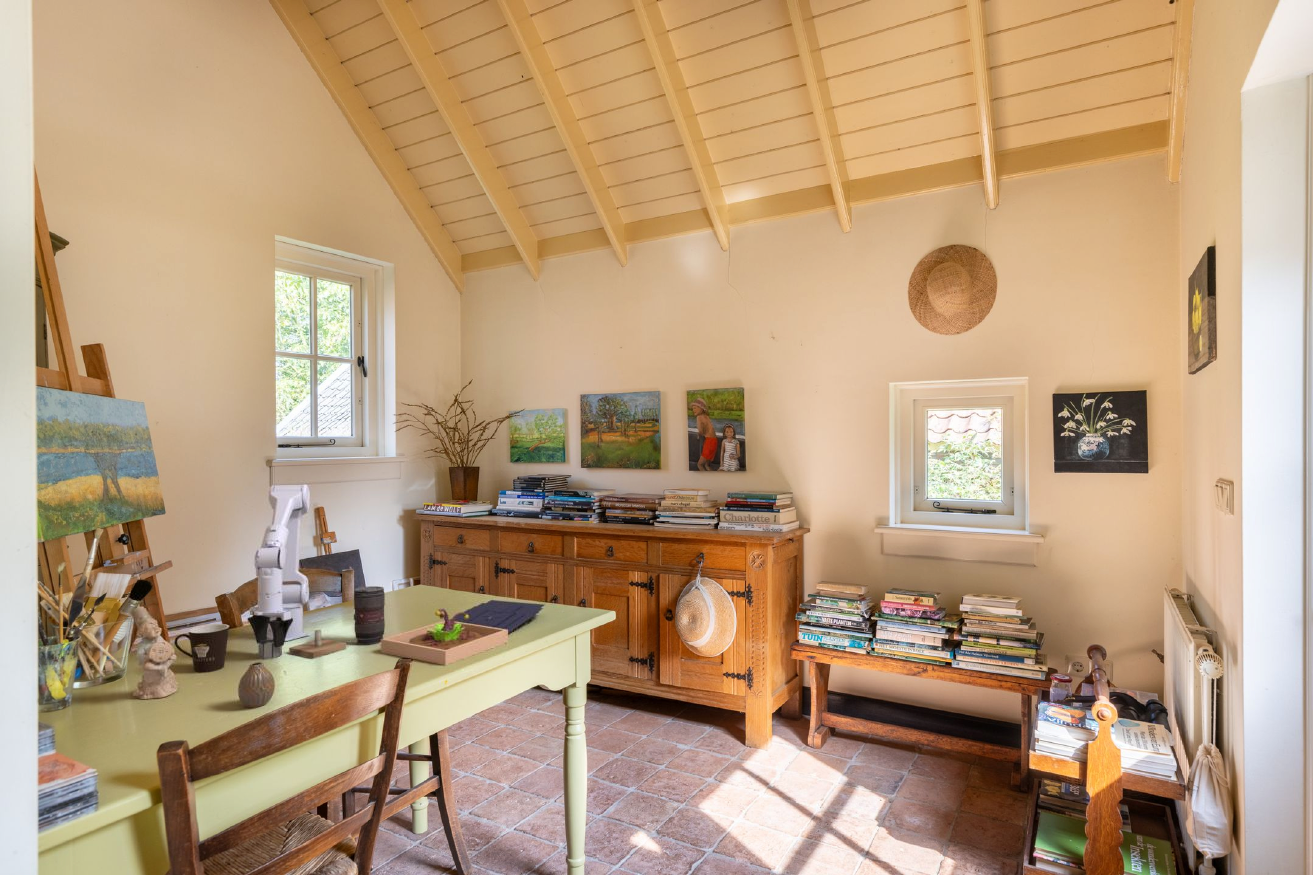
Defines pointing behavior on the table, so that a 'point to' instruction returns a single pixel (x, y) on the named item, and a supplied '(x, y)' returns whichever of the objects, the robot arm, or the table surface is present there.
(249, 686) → the vase
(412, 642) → the plant
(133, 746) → the table surface
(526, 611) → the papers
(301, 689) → the table surface
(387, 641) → the tan flat square tray
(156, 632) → the figurine
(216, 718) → the table surface
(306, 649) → the shaft stand
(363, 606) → the camera lens
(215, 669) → the coffee mug
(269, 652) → the ring
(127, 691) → the table surface
